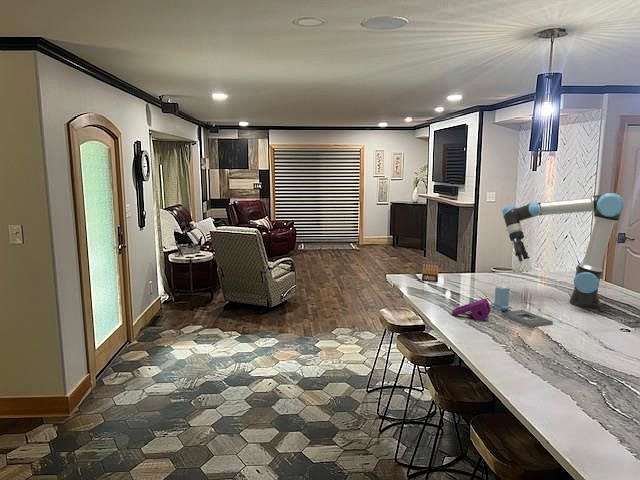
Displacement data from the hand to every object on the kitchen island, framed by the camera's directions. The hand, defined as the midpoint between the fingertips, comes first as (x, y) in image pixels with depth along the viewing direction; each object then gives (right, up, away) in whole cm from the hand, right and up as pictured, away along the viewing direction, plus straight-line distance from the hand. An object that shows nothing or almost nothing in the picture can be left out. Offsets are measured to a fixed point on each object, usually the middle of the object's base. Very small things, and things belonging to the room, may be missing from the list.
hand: (526, 268), depth 262 cm
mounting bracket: (-36, -24, -16) cm, 47 cm away
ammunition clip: (-40, -12, +59) cm, 72 cm away
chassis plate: (-9, -25, -21) cm, 34 cm away
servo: (-15, -22, -3) cm, 27 cm away
